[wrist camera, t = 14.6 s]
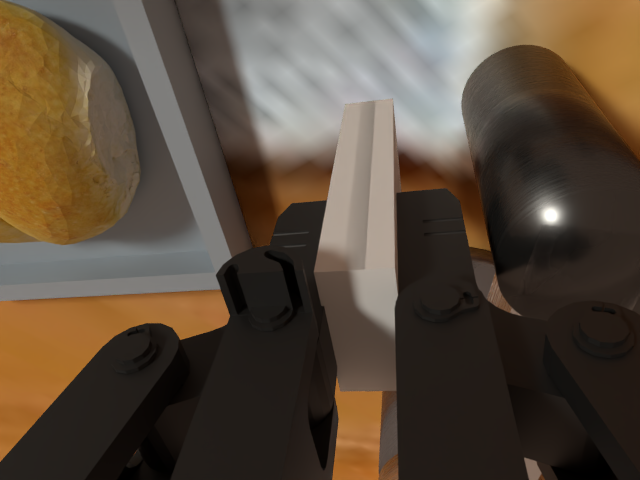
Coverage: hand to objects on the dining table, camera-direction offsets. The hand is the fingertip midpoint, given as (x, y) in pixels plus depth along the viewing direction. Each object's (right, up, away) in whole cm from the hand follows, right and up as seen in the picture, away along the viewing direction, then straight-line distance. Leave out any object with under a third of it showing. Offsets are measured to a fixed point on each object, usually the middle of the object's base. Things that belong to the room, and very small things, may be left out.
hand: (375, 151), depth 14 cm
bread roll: (-12, +2, +4) cm, 12 cm away
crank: (+4, -3, +5) cm, 7 cm away
